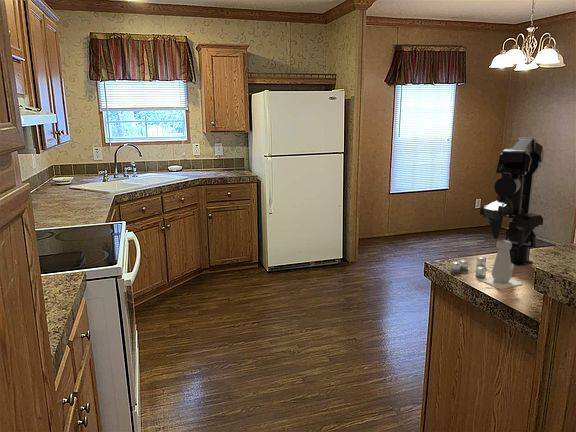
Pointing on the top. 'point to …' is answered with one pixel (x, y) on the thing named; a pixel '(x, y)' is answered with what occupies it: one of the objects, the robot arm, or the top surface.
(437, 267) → the top surface
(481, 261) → the spacer posts
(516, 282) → the mat
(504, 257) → the salt shaker
